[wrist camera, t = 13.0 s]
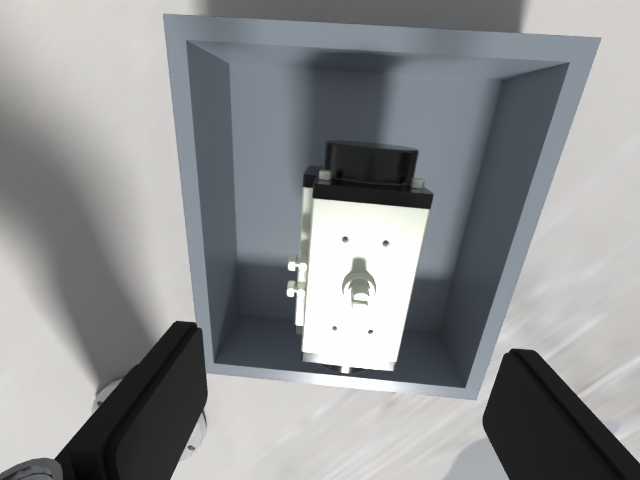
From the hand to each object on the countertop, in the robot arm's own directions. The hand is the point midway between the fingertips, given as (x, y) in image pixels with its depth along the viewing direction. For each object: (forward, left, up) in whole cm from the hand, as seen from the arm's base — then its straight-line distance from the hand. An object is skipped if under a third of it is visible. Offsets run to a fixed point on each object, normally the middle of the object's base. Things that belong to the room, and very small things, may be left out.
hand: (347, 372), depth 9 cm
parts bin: (+1, 0, -16) cm, 16 cm away
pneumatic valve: (+1, 0, -15) cm, 15 cm away
